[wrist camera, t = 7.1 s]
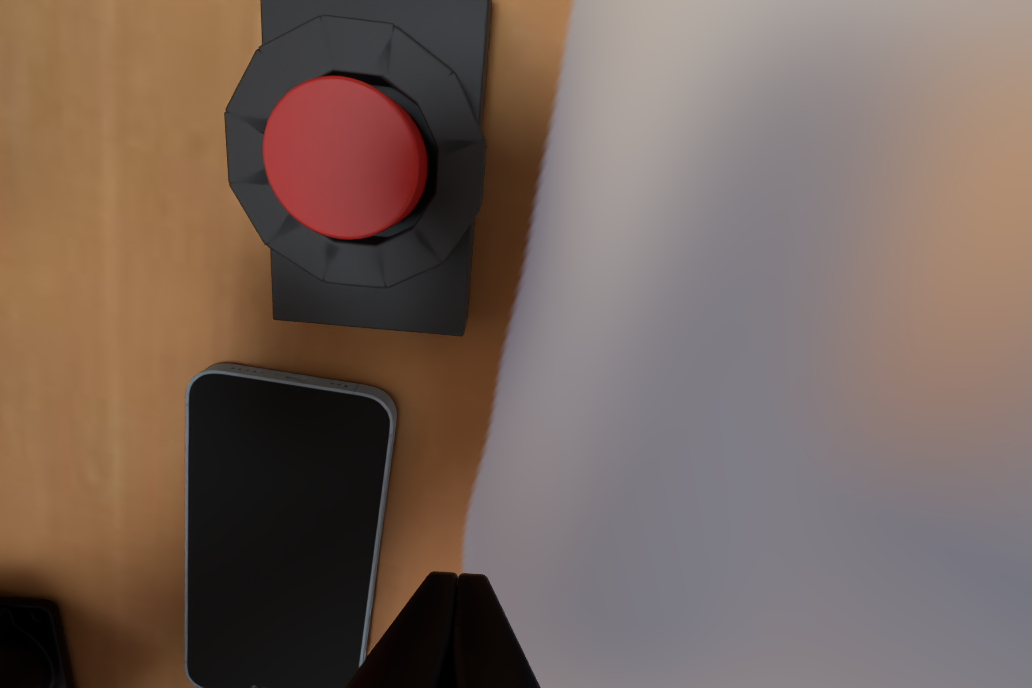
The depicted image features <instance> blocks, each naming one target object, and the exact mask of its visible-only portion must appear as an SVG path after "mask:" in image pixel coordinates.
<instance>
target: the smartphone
mask: <svg viewBox="0 0 1032 688" xmlns="http://www.w3.org/2000/svg"><path fill="white" fill-rule="evenodd" d="M396 421H397V411H396V406H395V404H394V402H393V400H392V399H391V397H390V396H389V395H388V394H387V393H385V392H384V391H382V390H381V389H379V388H376V387H373V386H369V385H363V384H357V383H350V382H344V381H338V380H331V379H325V378H319V377H312V376H306V375H300V374H293V373H287V372H281V371H275V370H268V369H262V368H256V367H249V366H243V365H237V364H230V363H220V364H215V365H212V366H210V367H208V368H207V369H205V370H203V371H202V372H200V373H199V374H197V375H196V376H194V377H193V378H192V379H191V381H190V382H189V384H188V386H187V389H186V397H185V661H184V664H185V674H186V676H187V678H188V680H189V681H190V682H191V683H192V684H193V685H194V686H196V687H198V688H344V687H345V686H346V685H347V683H348V682H349V681H350V679H351V678H352V677H353V675H354V674H355V673H356V671H357V670H358V669H359V667H360V666H361V665H362V663H363V662H364V661H365V657H366V650H367V649H366V647H367V639H368V633H369V626H370V617H371V610H372V603H373V596H374V587H375V579H376V572H377V564H378V557H379V549H380V542H381V534H382V527H383V519H384V512H385V504H386V497H387V489H388V482H389V474H390V467H391V459H392V451H393V444H394V436H395V429H396Z"/></svg>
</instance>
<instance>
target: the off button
mask: <svg viewBox="0 0 1032 688" xmlns="http://www.w3.org/2000/svg"><path fill="white" fill-rule="evenodd" d="M262 153H263V163H264V167H265V172H266V175H267V178H268V181H269V184H270V186H271V188H272V190H273V192H274V194H275V196H276V197H277V199H278V200H279V202H280V203H281V204H282V206H283V207H284V208H285V209H286V210H287V212H288V213H289V214H290V215H291V216H293V217H294V218H295V219H296V220H297V221H298V222H300V223H301V224H302V225H304V226H305V227H307V228H309V229H311V230H312V231H314V232H317V233H319V234H321V235H324V236H328V237H331V238H337V239H348V240H353V239H362V238H366V237H370V236H373V235H375V234H378V233H380V232H382V231H384V230H386V229H388V228H390V227H392V226H394V225H395V224H397V223H399V222H400V221H402V220H403V219H404V218H406V217H407V216H408V215H409V214H410V213H411V212H412V210H413V209H414V208H415V206H416V205H417V204H418V202H419V200H420V198H421V196H422V194H423V191H424V189H425V185H426V181H427V174H428V158H427V151H426V147H425V143H424V140H423V138H422V135H421V133H420V131H419V129H418V127H417V125H416V123H415V122H414V121H413V119H412V118H411V116H410V115H409V114H408V113H407V112H406V111H405V110H404V109H403V108H402V107H401V106H400V105H399V104H398V103H397V102H395V101H394V100H392V99H391V98H389V97H388V96H386V95H385V94H383V93H382V92H380V91H379V90H377V89H376V88H374V87H373V86H371V85H369V84H367V83H365V82H362V81H359V80H356V79H354V78H349V77H344V76H322V77H317V78H313V79H310V80H307V81H305V82H302V83H300V84H299V85H297V86H295V87H294V88H292V89H291V90H290V91H289V92H287V93H286V94H285V95H284V96H283V97H282V98H281V99H280V100H279V102H278V103H277V104H276V106H275V107H274V109H273V110H272V112H271V114H270V117H269V119H268V121H267V124H266V127H265V131H264V137H263V152H262Z"/></svg>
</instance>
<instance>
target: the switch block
mask: <svg viewBox="0 0 1032 688" xmlns="http://www.w3.org/2000/svg"><path fill="white" fill-rule="evenodd" d="M260 1H261V26H262V45H261V46H260V47H259V49H257V50H256V51H255V53H254V55H253V57H252V59H251V61H250V63H249V65H248V67H247V69H246V71H245V73H244V75H243V76H242V78H241V80H240V82H239V84H238V86H237V88H236V90H235V92H234V94H233V96H232V98H231V100H230V101H229V103H228V105H227V107H226V112H225V113H224V115H225V131H226V148H227V164H228V180H229V183H230V184H229V185H230V187H231V189H232V191H233V192H234V194H235V196H236V197H237V199H238V201H239V202H240V204H241V206H242V207H243V209H244V211H245V212H246V214H247V216H248V217H249V219H250V221H251V222H252V224H253V226H254V227H255V229H256V231H257V232H258V234H259V236H260V237H261V239H262V241H263V242H264V244H265V245H267V246H268V247H269V248H270V251H271V276H272V301H273V319H275V320H283V321H295V322H306V323H317V324H328V325H339V326H350V327H362V328H373V329H384V330H395V331H406V332H417V333H428V334H440V335H451V336H463V335H464V331H465V326H466V322H467V316H468V303H469V290H470V278H471V265H472V252H473V239H474V227H475V217H476V215H477V214H478V212H479V210H480V208H481V205H482V199H483V187H484V174H485V162H486V150H487V145H486V140H485V138H484V136H483V133H482V124H483V111H484V99H485V86H486V73H487V60H488V47H489V35H490V22H491V9H492V0H260ZM322 76H344V77H349V78H354V79H356V80H359V81H362V82H365V83H367V84H369V85H371V86H373V87H374V88H376V89H377V90H379V91H380V92H382V93H383V94H385V95H386V96H388V97H389V98H391V99H392V100H394V101H395V102H397V103H398V104H399V105H400V106H401V107H402V108H403V109H404V110H405V111H406V112H407V113H408V114H409V115H410V116H411V118H412V119H413V121H414V122H415V123H416V125H417V127H418V129H419V131H420V133H421V135H422V138H423V140H424V143H425V147H426V151H427V158H428V174H427V181H426V185H425V189H424V191H423V194H422V196H421V198H420V200H419V202H418V204H417V205H416V206H415V208H414V209H413V210H412V212H411V213H410V214H409V215H408V216H407V217H406V218H404V219H403V220H402V221H400V222H399V223H397V224H395V225H394V226H392V227H390V228H388V229H386V230H384V231H382V232H380V233H378V234H375V235H373V236H370V237H366V238H362V239H353V240H348V239H337V238H331V237H328V236H324V235H321V234H319V233H317V232H314V231H312V230H311V229H309V228H307V227H305V226H304V225H302V224H301V223H300V222H298V221H297V220H296V219H295V218H294V217H293V216H291V215H290V214H289V213H288V212H287V210H286V209H285V208H284V207H283V206H282V204H281V203H280V202H279V200H278V199H277V197H276V196H275V194H274V192H273V190H272V188H271V186H270V184H269V181H268V178H267V175H266V172H265V167H264V163H263V153H262V152H263V137H264V131H265V127H266V124H267V121H268V119H269V117H270V114H271V112H272V110H273V109H274V107H275V106H276V104H277V103H278V102H279V100H280V99H281V98H282V97H283V96H284V95H285V94H286V93H287V92H289V91H290V90H291V89H292V88H294V87H295V86H297V85H299V84H300V83H302V82H305V81H307V80H310V79H313V78H317V77H322Z"/></svg>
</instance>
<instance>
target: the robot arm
mask: <svg viewBox="0 0 1032 688" xmlns="http://www.w3.org/2000/svg"><path fill="white" fill-rule="evenodd" d="M457 582H458V584H457ZM0 688H75V686H74V681H73V676H72V671H71V666H70V662H69V657H68V652H67V647H66V642H65V637H64V633H63V628H62V623H61V618H60V613H59V609H58V607H57V606H56V605H55V604H54V603H53V602H51V601H49V600H43V599H25V598H8V597H0ZM344 688H540V686H539V684H538V682H537V680H536V677H535V675H534V673H533V671H532V669H531V667H530V665H529V663H528V661H527V659H526V657H525V655H524V653H523V650H522V648H521V646H520V644H519V642H518V640H517V638H516V636H515V634H514V632H513V630H512V628H511V626H510V624H509V621H508V619H507V617H506V615H505V613H504V611H503V609H502V607H501V605H500V603H499V601H498V599H497V597H496V594H495V592H494V590H493V588H492V586H491V584H490V582H489V580H488V578H487V577H486V576H485V575H483V574H468V573H462V574H460V575H459V577H458V576H457V574H456V573H452V572H436V571H434V572H431V573H430V574H429V575H428V576H427V577H426V578H425V580H424V581H423V582H422V584H421V585H420V586H419V588H418V589H417V590H416V592H415V593H414V595H413V596H412V597H411V599H410V600H409V601H408V603H407V604H406V605H405V607H404V608H403V609H402V611H401V612H400V613H399V615H398V616H397V617H396V619H395V620H394V621H393V623H392V624H391V626H390V627H389V628H388V630H387V631H386V632H385V634H384V635H383V636H382V638H381V639H380V640H379V642H378V643H377V644H376V646H375V647H374V648H373V650H372V651H371V652H370V654H369V655H368V656H367V658H366V659H365V661H364V662H363V663H362V665H361V666H360V667H359V669H358V670H357V671H356V673H355V674H354V675H353V677H352V678H351V679H350V681H349V682H348V683H347V685H346V686H345V687H344Z"/></svg>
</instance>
